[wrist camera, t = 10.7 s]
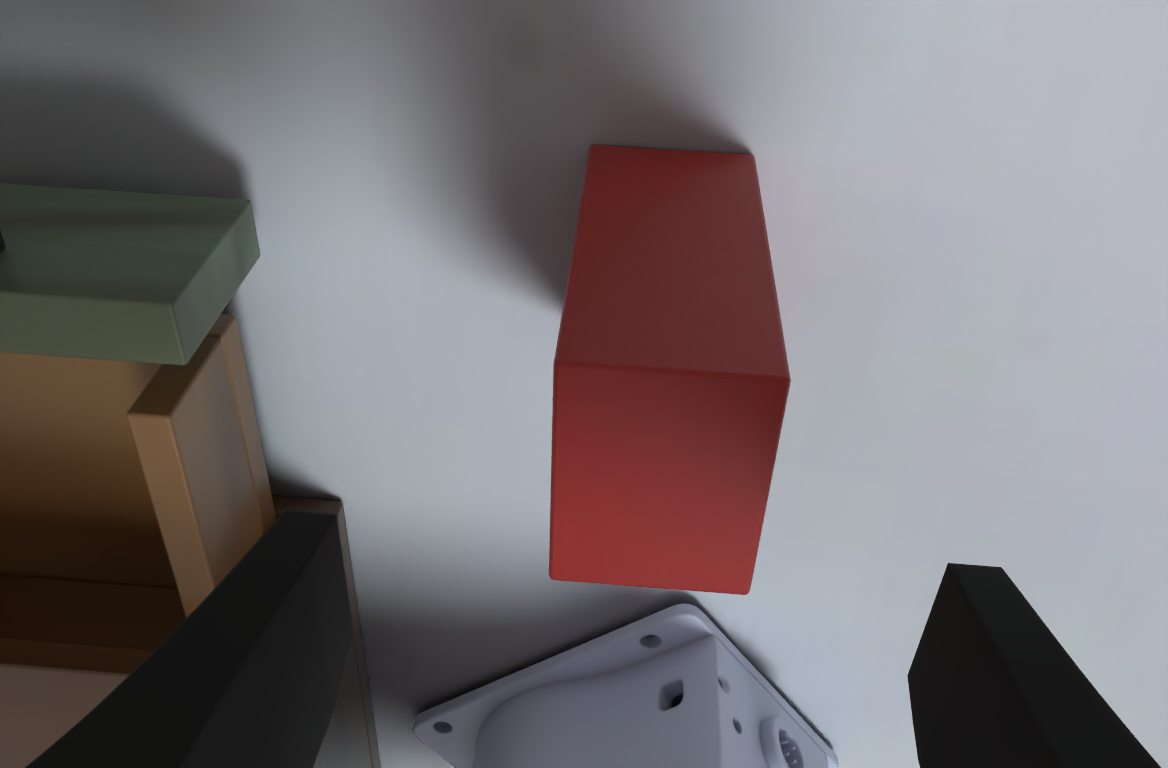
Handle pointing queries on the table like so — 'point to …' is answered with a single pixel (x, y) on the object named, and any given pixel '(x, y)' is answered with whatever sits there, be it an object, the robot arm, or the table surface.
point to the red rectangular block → (666, 375)
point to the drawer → (122, 412)
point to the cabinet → (91, 672)
